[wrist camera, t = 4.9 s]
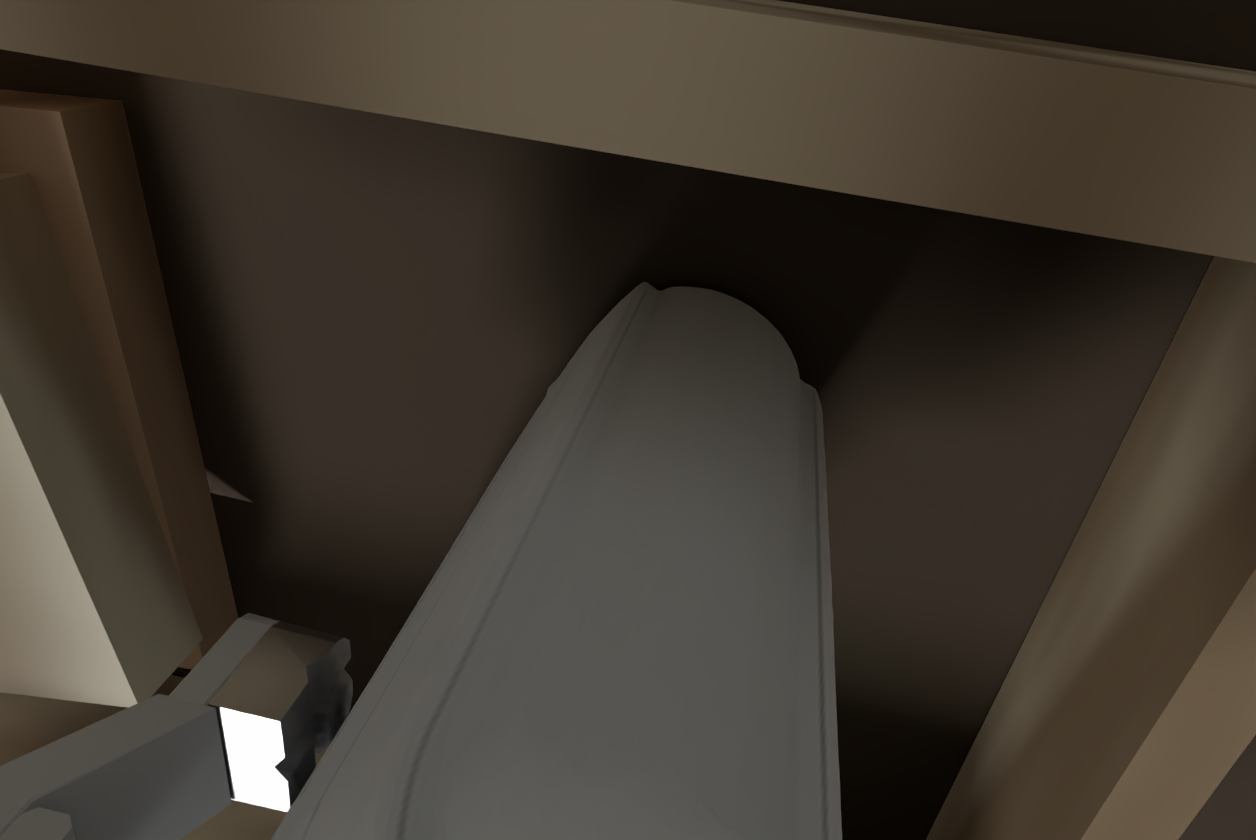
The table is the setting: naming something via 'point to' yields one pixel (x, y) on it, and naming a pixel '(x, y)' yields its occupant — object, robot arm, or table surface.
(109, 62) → the frame
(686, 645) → the photo printer
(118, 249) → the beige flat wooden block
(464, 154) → the table surface
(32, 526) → the birch offcut
